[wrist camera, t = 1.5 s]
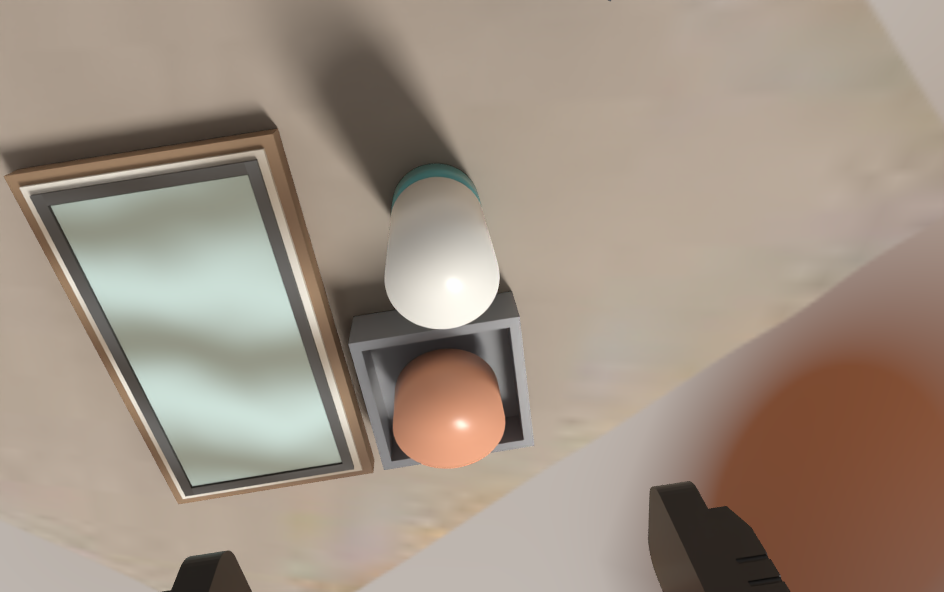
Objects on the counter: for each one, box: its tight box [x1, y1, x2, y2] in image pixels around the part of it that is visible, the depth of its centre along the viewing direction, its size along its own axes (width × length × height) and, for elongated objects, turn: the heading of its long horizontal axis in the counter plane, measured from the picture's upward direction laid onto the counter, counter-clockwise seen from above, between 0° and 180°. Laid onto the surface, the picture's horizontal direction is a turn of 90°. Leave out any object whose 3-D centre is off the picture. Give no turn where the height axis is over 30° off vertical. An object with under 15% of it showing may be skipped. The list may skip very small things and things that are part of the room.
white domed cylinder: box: [385, 163, 500, 329], centre depth 24 cm, size 4×4×8 cm
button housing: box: [348, 291, 534, 470], centre depth 30 cm, size 8×8×2 cm
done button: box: [393, 349, 505, 468], centre depth 29 cm, size 5×5×3 cm
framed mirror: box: [4, 129, 374, 504], centre depth 29 cm, size 19×11×1 cm, turn 8°
